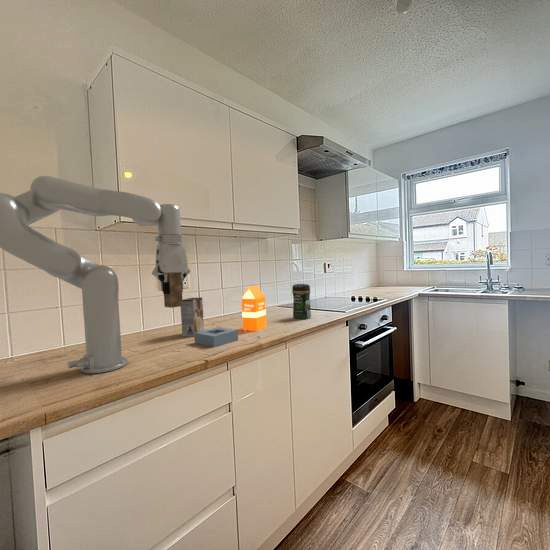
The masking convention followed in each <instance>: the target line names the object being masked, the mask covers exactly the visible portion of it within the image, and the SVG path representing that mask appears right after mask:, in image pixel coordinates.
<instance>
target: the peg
mask: <svg viewBox="0 0 550 550" xmlns="http://www.w3.org/2000/svg"><path fill="white" fill-rule="evenodd" d="M167 282H169V294H163V300H164V301H163V302H164V308H170V309H173V308H178V307H180V308H181V306H183V292H182V281H181V273H168V281H167Z"/></svg>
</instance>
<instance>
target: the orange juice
mask: <svg viewBox="0 0 550 550" xmlns="http://www.w3.org/2000/svg"><path fill="white" fill-rule="evenodd" d="M266 308H267V307H266V297H265V295H264V294H263V292H262V290H261V289H260V287H259V285H251V286H247V288H246V290H245V292H244V294H243V295H242V298H241V315H242V317H241V318H242V330H243V331H246V330H249V331H248V332H259V331H261V330H263V328H264V329H266V328H267V310H266ZM258 330H259V331H258Z"/></svg>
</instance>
